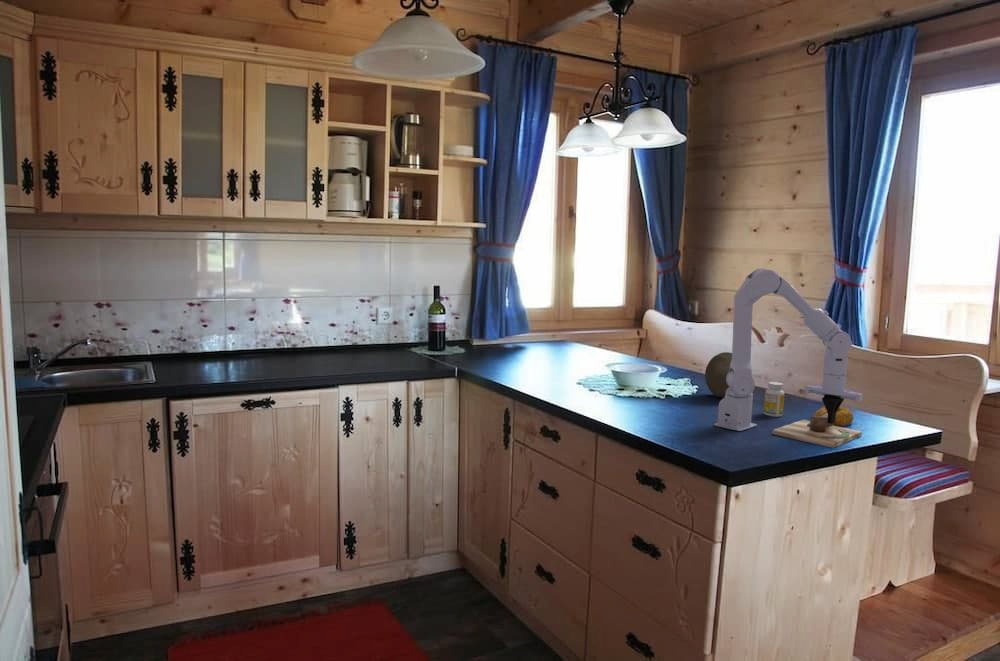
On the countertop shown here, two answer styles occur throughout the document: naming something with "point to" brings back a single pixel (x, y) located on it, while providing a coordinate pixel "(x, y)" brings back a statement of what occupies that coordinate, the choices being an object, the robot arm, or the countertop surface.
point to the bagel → (838, 416)
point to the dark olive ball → (718, 373)
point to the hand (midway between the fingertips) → (830, 422)
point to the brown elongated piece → (819, 423)
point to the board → (817, 434)
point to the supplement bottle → (774, 400)
